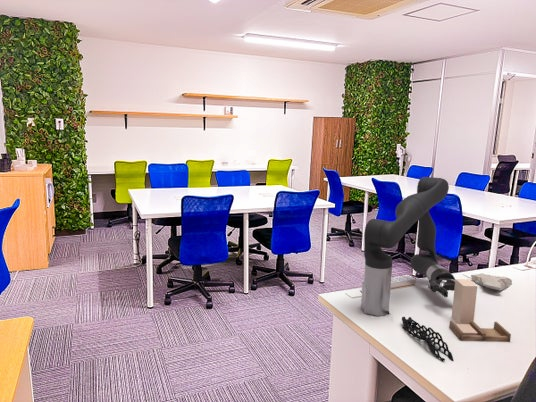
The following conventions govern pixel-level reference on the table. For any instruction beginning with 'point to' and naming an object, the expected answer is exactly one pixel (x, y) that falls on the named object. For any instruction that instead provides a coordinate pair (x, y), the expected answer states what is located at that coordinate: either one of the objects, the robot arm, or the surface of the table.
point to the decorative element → (424, 337)
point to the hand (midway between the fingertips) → (459, 294)
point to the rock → (492, 281)
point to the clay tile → (466, 329)
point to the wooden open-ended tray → (482, 333)
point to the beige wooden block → (464, 301)
